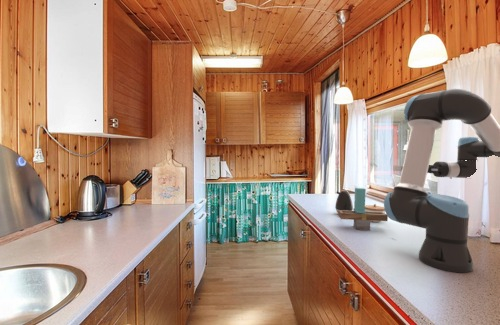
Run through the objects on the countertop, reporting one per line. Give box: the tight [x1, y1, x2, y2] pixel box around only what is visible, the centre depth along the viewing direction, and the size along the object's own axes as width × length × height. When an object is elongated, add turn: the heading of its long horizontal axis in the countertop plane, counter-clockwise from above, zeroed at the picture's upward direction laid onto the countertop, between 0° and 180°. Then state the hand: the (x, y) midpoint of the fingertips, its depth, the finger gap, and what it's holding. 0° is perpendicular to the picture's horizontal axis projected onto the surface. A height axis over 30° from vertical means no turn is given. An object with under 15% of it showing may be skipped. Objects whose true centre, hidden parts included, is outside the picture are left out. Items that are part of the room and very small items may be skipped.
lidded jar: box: [365, 203, 386, 223], centre depth 149 cm, size 11×11×9 cm
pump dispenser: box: [334, 189, 354, 214], centre depth 162 cm, size 10×10×15 cm
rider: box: [353, 187, 366, 213], centre depth 133 cm, size 6×4×15 cm, turn 174°
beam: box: [337, 210, 389, 231], centre depth 133 cm, size 7×22×8 cm, turn 84°
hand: (393, 168), depth 129 cm, fingers closed
